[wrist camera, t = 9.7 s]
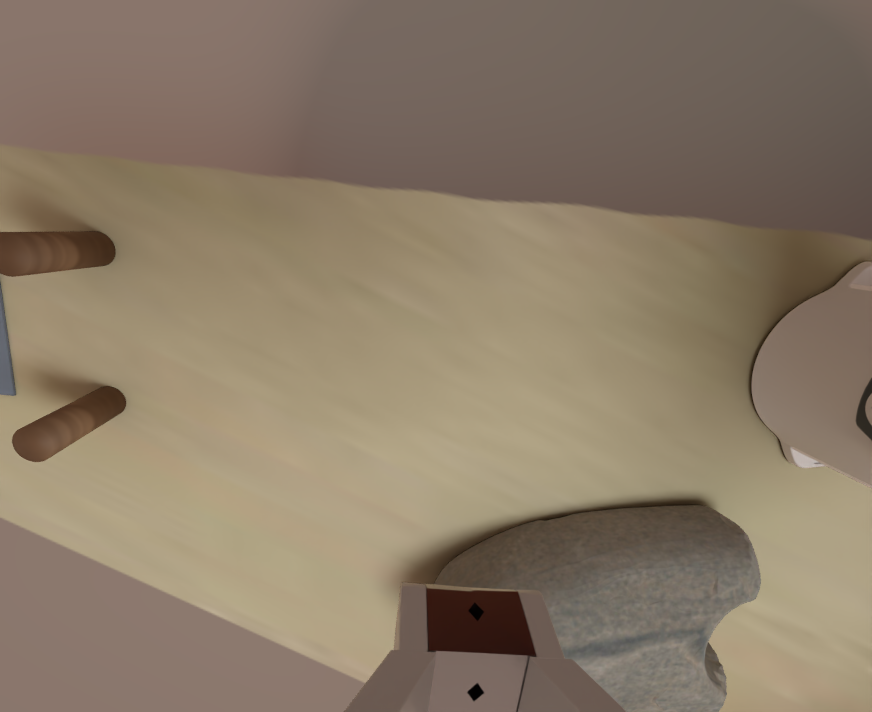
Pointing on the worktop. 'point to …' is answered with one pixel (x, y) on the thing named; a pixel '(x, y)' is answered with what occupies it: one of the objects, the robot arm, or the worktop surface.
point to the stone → (629, 595)
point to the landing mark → (5, 356)
